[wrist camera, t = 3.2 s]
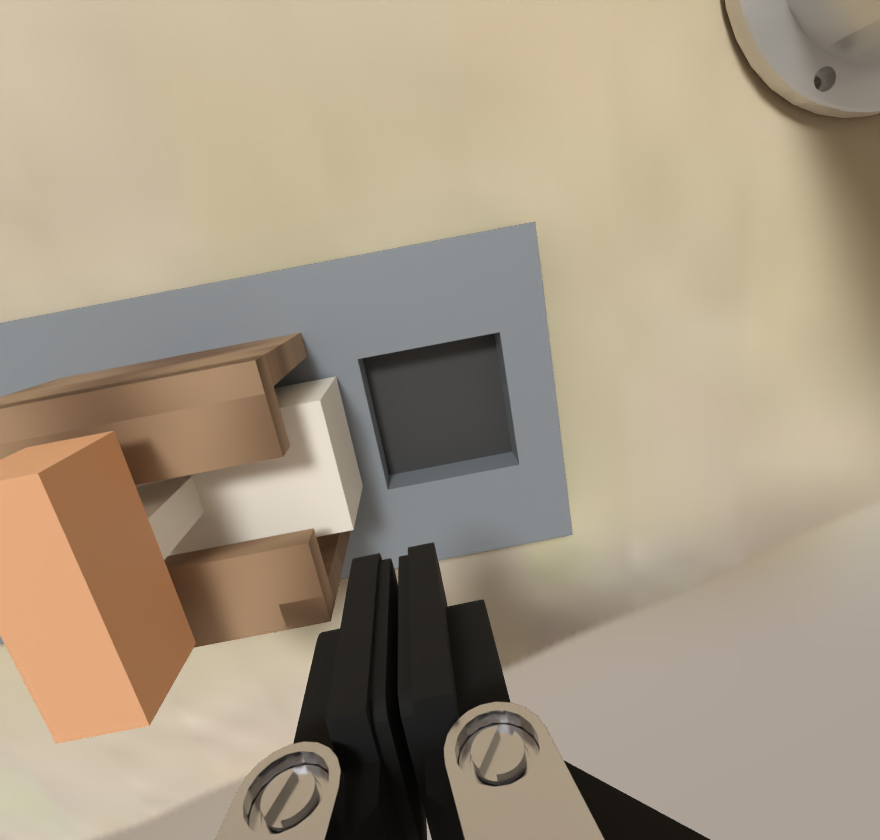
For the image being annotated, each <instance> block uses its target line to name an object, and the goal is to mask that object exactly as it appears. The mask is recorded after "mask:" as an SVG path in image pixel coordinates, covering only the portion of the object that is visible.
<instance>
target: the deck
mask: <svg viewBox="0 0 880 840" xmlns="http://www.w3.org/2000/svg"><path fill="white" fill-rule="evenodd" d="M300 332H301V335H302V339H303V343H304V347H305V351H306V355H307V357H306V358H305V359H304V360H302V361H301V362H300V363H299V364H298V365H297V366H296V367H295V368H293V369H292V370H291V371H290V372H289V373H288V374H287V375H286V376H284V377H283V378H282V379H281V380H280V381H279V382H278V383H277V384H275V385H274V388H278V387H283V386H288V385H293V384H299V383H304V382H309V381H314V380H320V379H325V378H330V377H335V376H336V378H337V382H338V387H339V391H340V395H341V399H342V403H343V407H344V411H345V415H346V419H347V423H348V427H349V431H350V436H351V440H352V444H353V448H354V452H355V456H356V460H357V464H358V468H359V472H360V476H361V480H362V484H363V487H362V492H361V497H360V502H359V506H358V511H357V516H356V521H355V525H354V530H351V532H350V536H349V541H348V545H347V550H346V554H345V559H344V563H343V568H342V572H341V577H340V579H344V578H349V575H350V569H351V563H352V559H353V558H358V557H363V556H367V555H372V554H377V553H380V555H381V557H382V560H384V559H389V558H391V559H392V562H393V566H394V569H396V568H399V556H404V555H408V547H412V546H417V545H422V544H427V543H432V542H434V544H435V548H436V553H437V558H438V560H443V559H448V558H453V557H459V556H464V555H469V554H474V553H479V552H485V551H490V550H495V549H500V548H506V547H511V546H516V545H521V544H526V543H532V542H537V541H542V540H547V539H553V538H558V537H563V536H568V535H573V534H572V526H571V517H570V509H569V500H568V492H567V484H566V475H565V467H564V459H563V450H562V442H561V433H560V425H559V417H558V408H557V400H556V392H555V383H554V375H553V366H552V358H551V350H550V341H549V333H548V325H547V316H546V308H545V299H544V291H543V283H542V274H541V266H540V258H539V249H538V241H537V232H536V224H535V222H531V223H525V224H520V225H515V226H510V227H504V228H499V229H494V230H488V231H483V232H478V233H473V234H467V235H462V236H457V237H452V238H446V239H441V240H436V241H431V242H425V243H420V244H415V245H409V246H404V247H399V248H394V249H388V250H383V251H378V252H373V253H367V254H362V255H357V256H351V257H346V258H341V259H336V260H330V261H325V262H320V263H315V264H309V265H304V266H299V267H293V268H288V269H283V270H278V271H272V272H267V273H262V274H257V275H251V276H246V277H241V278H236V279H230V280H225V281H220V282H214V283H209V284H204V285H199V286H193V287H188V288H183V289H178V290H172V291H167V292H162V293H156V294H151V295H146V296H141V297H135V298H130V299H125V300H120V301H114V302H109V303H104V304H98V305H93V306H88V307H83V308H77V309H72V310H67V311H62V312H56V313H51V314H46V315H41V316H35V317H30V318H25V319H19V320H14V321H9V322H4V323H0V397H2V396H5V395H8V394H11V393H15V392H18V391H21V390H24V389H27V388H30V387H33V386H36V385H39V384H43V383H46V382H49V381H52V380H55V379H58V378H63V377H69V376H74V375H79V374H85V373H90V372H95V371H100V370H106V369H111V368H116V367H121V366H127V365H132V364H137V363H142V362H148V361H153V360H158V359H163V358H169V357H174V356H179V355H184V354H190V353H195V352H200V351H206V350H211V349H216V348H221V347H227V346H232V345H237V344H242V343H248V342H253V341H258V340H263V339H269V338H274V337H279V336H284V335H290V334H295V333H300ZM0 644H4V642H3V640H2V638H1V636H0Z"/></svg>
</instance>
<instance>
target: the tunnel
mask: <svg viewBox="0 0 880 840" xmlns="http://www.w3.org/2000/svg"><path fill="white" fill-rule="evenodd" d="M306 357H307V355H306V351H305V347H304V343H303V339H302V335H301V332H300V333H295V334H290V335H284V336H279V337H274V338H269V339H263V340H258V341H253V342H248V343H242V344H237V345H232V346H227V347H221V348H216V349H211V350H206V351H200V352H195V353H190V354H184V355H179V356H174V357H169V358H163V359H158V360H153V361H148V362H142V363H137V364H132V365H127V366H121V367H116V368H111V369H106V370H100V371H95V372H90V373H85V374H79V375H74V376H69V377H63V378H58V379H55V380H52V381H49V382H46V383H43V384H39V385H36V386H33V387H30V388H27V389H24V390H21V391H18V392H15V393H11V394H8V395H5V396H2V397H0V460H1V459H3V458H5V457H7V456H9V455H11V454H14V453H16V452H18V451H20V450H22V449H24V448H26V447H31V446H37V445H42V444H47V443H52V442H58V441H63V440H68V439H73V438H79V437H84V436H89V435H94V434H100V433H105V432H110V431H114V432H115V434H116V437H117V439H118V442H119V444H120V447H121V450H122V452H123V455H124V457H125V460H126V463H127V465H128V468H129V470H130V473H131V476H132V478H133V481H134V483H135V485H139V484H144V483H149V482H154V481H160V480H165V479H170V478H175V477H181V476H186V475H191V474H196V473H202V472H207V471H212V470H217V469H222V468H228V467H233V466H238V465H243V464H249V463H254V462H259V461H264V460H270V459H275V458H280V457H283V456H284V455H285V453H286V452H287V450H288V449H289V447H290V443H289V439H288V436H287V432H286V428H285V425H284V421H283V418H282V414H281V411H280V407H279V404H278V400H277V397H276V393H275V390H274V385H275V384H277V383H278V382H279V381H280V380H281V379H282V378H283V377H284V376H286V375H287V374H288V373H289V372H290V371H291V370H292V369H293V368H295V367H296V366H297V365H298V364H299V363H300V362H301V361H302V360H304V359H305V358H306ZM350 532H351V531H345V532H340V533H335V534H330V535H325V536H319V537H316V534H315V531H314V528H312V529H307V530H302V531H297V532H291V533H286V534H281V535H276V536H270V537H265V538H260V539H255V540H250V541H244V542H239V543H234V544H229V545H223V546H218V547H213V548H208V549H202V550H197V551H192V552H187V553H181V554H176V555H171V556H167V557H166V559H165V560H164V561H165V564H166V566H167V569H168V572H169V574H170V577H171V579H172V582H173V585H174V587H175V590H176V592H177V595H178V598H179V600H180V603H181V605H182V608H183V611H184V613H185V616H186V618H187V621H188V623H189V626H190V629H191V631H192V634H193V636H194V639H195V642H196V644H195V646H194V647H199V646H204V645H209V644H214V643H220V642H225V641H230V640H235V639H241V638H246V637H251V636H256V635H261V634H267V633H272V632H277V631H282V630H288V629H293V628H298V627H303V626H308V625H314V624H319V623H324V622H329V621H331V618H332V613H333V609H334V604H335V600H336V595H337V591H338V586H339V581H340V577H341V572H342V568H343V563H344V559H345V554H346V550H347V545H348V541H349V536H350Z"/></svg>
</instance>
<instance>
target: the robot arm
mask: <svg viewBox="0 0 880 840" xmlns="http://www.w3.org/2000/svg"><path fill="white" fill-rule="evenodd" d="M725 5H726V10H727V13H728V16H729V19H730V22H731V25H732V28H733V31H734V35H735V38H736V40H737V42H738V44H739V46H740V48H741V49H742V51H743V53H744V55H745V57H746V58H747V60H748V62H749V64H750V66H751V67H752V68H753V69H754V70H755V72H756V73H757V74H758V75H759V76H760V77H761V78H762V80H763V81H764V82H765V83H766V84H767V85H768V86H769V88H770V89H772V90H773V91H775V92H776V93H777V94H779V95H780V96H782V97H783V98H784V99H786V100H787V101H789V102H790V103H791V104H793V105H796V106H798V107H801V108H803V109H806V110H808V111H811V112H813V113H815V114H819V115H826V116H833V117H840V118H851V117H863V116H873V115H876V114H879V113H880V0H725ZM426 819H427V822H428V826H429V830H430V834H431V838H432V840H710V839H708V838H706V837H704V836H702V835H701V834H699V833H697V832H695V831H693V830H692V829H689V828H688V827H686V826H684V825H682V824H680V823H678V822H676V821H675V820H673V819H671V818H669V817H667V816H666V815H664V814H661V813H660V812H658V811H656V810H654V809H653V808H651V807H649V806H647V805H645V804H643V803H642V802H640V801H638V800H636V799H634V798H632V797H630V796H629V795H627V794H625V793H623V792H621V791H619V790H618V789H616V788H614V787H612V786H610V785H608V784H606V783H605V782H602V781H601V780H599V779H597V778H595V777H593V776H591V775H590V774H588V773H586V772H584V771H582V770H581V769H578V768H577V767H575V766H573V765H571V764H569V763H567V762H566V761H564V760H563V759H562V757H561V755H560V753H559V751H558V749H557V747H556V745H555V743H554V741H553V739H552V737H551V735H550V733H549V732H548V730H547V728H546V726H545V725H544V724H543V722H542V721H541V720H540V718H539V717H538V716H537V715H535V714H534V713H533V712H531V711H530V710H528V709H527V708H525V707H523V706H520V705H517V704H514V703H510V699H509V695H508V692H507V688H506V684H505V680H504V676H503V672H502V668H501V664H500V660H499V656H498V653H497V649H496V645H495V641H494V637H493V633H492V629H491V625H490V621H489V618H488V614H487V610H486V606H485V602H484V600H478V601H473V602H468V603H463V604H458V605H454V606H449V607H448V606H447V601H446V596H445V592H444V587H443V582H442V577H441V572H440V567H439V563H438V558H437V553H436V548H435V544H434V542H432V543H427V544H422V545H417V546H412V547H408V555H404V556H399V568H398V583H397V579H396V574H395V570H394V566H393V562H392V559H391V558H389V559H384V560H382V557H381V555H380V553H377V554H372V555H367V556H363V557H358V558H353V559H352V563H351V569H350V575H349V580H348V586H347V592H346V598H345V604H344V610H343V616H342V621H341V627H340V629H336V630H331V631H326V632H322V633H320V634H319V636H318V639H317V643H316V647H315V651H314V656H313V660H312V665H311V669H310V673H309V678H308V682H307V686H306V691H305V695H304V700H303V704H302V708H301V713H300V717H299V721H298V726H297V730H296V735H295V739H294V743H293V744H291V745H288V746H286V747H283V748H281V749H279V750H277V751H275V752H273V753H272V754H270V755H269V756H268V757H266V758H265V759H263V760H262V761H261V762H259V763H258V764H257V765H256V766H255V768H254V769H253V770H252V771H251V772H250V773H249V774H248V775H247V776H246V777H245V779H244V781H243V782H242V784H241V786H240V787H239V789H238V791H237V792H236V794H235V796H234V799H233V801H232V803H231V805H230V807H229V810H228V812H227V814H226V816H225V818H224V821H223V823H222V825H221V827H220V829H219V831H218V834H217V836H216V838H215V840H427V827H426Z"/></svg>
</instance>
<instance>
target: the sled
mask: <svg viewBox="0 0 880 840" xmlns="http://www.w3.org/2000/svg"><path fill="white" fill-rule="evenodd" d="M274 390H275V393H276V397H277V400H278V404H279V407H280V411H281V414H282V418H283V421H284V425H285V428H286V432H287V436H288V439H289V443H290V447H289V449H288V450H287V452H286V453H285V455H284V456H283V457H280V458H275V459H270V460H264V461H259V462H254V463H249V464H243V465H238V466H233V467H228V468H222V469H217V470H212V471H207V472H202V473H196V474H191V475H186V476H181V477H175V478H170V479H165V480H160V481H154V482H149V483H144V484H139V485H135V483H134V481H133V478H132V476H131V473H130V470H129V468H128V465H127V463H126V460H125V457H124V455H123V452H122V450H121V447H120V444H119V442H118V439H117V437H116V434H115V432H114V431H110V432H105V433H100V434H94V435H89V436H84V437H79V438H73V439H68V440H63V441H58V442H52V443H47V444H42V445H37V446H31V447H26V448H24V449H22V450H20V451H18V452H16V453H14V454H11V455H9V456H7V457H5V458H3V459H1V460H0V636H1V638H2V640H3V642H4V644H5V646H6V648H7V650H8V652H9V654H10V655H11V657H12V659H13V661H14V663H15V665H16V667H17V669H18V671H19V673H20V675H21V677H22V679H23V681H24V683H25V685H26V686H27V688H28V690H29V692H30V694H31V696H32V698H33V700H34V702H35V704H36V706H37V708H38V710H39V712H40V714H41V715H42V717H43V719H44V721H45V723H46V725H47V727H48V729H49V731H50V733H51V735H52V737H53V739H54V741H55V743H61V742H66V741H72V740H77V739H82V738H87V737H93V736H98V735H103V734H108V733H113V732H119V731H124V730H129V729H134V728H139V727H145V726H149V725H150V724H151V722H152V720H153V718H154V717H155V715H156V713H157V711H158V710H159V708H160V706H161V704H162V702H163V701H164V699H165V697H166V695H167V694H168V692H169V690H170V688H171V687H172V685H173V683H174V681H175V679H176V678H177V676H178V674H179V672H180V671H181V669H182V667H183V665H184V664H185V662H186V660H187V658H188V656H189V655H190V653H191V651H192V649H193V648H194V646H195V644H196V642H195V639H194V636H193V634H192V631H191V629H190V626H189V623H188V621H187V618H186V616H185V613H184V611H183V608H182V605H181V603H180V600H179V598H178V595H177V592H176V590H175V587H174V585H173V582H172V579H171V577H170V574H169V572H168V569H167V566H166V564H165V561H164V560H165V559H166V557H167V556H171V555H176V554H181V553H187V552H192V551H197V550H202V549H208V548H213V547H218V546H223V545H229V544H234V543H239V542H244V541H250V540H255V539H260V538H265V537H270V536H276V535H281V534H286V533H291V532H297V531H302V530H307V529H312V528H314V531H315V534H316V537H319V536H325V535H330V534H335V533H340V532H345V531H351V530H354V525H355V521H356V516H357V511H358V506H359V502H360V497H361V492H362V487H363V484H362V480H361V476H360V472H359V468H358V464H357V460H356V456H355V452H354V448H353V444H352V440H351V436H350V431H349V427H348V423H347V419H346V415H345V411H344V407H343V403H342V399H341V395H340V391H339V387H338V382H337V378H336V376H335V377H330V378H325V379H320V380H314V381H309V382H304V383H299V384H293V385H288V386H283V387H278V388H274Z"/></svg>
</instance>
